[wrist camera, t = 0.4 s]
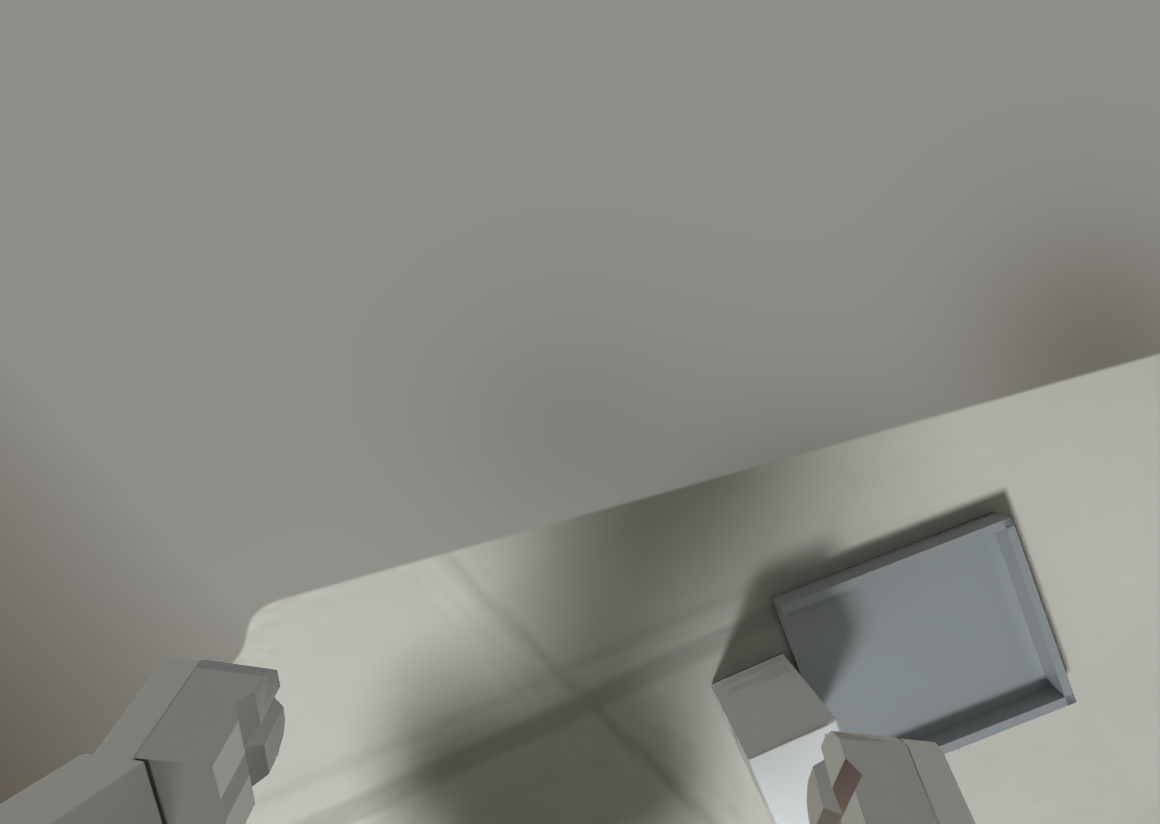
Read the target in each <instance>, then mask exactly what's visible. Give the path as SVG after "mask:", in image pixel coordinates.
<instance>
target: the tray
mask: <svg viewBox="0 0 1160 824" xmlns="http://www.w3.org/2000/svg"><path fill="white" fill-rule="evenodd" d="M772 600H773V603H774V606H775V608H776V611H777V614H778V617H779V619H780V622H781V625H782V627H783V630H784V633H785V635H786V638H787V641H788V644H789V646H790V649H791V652H792V654H793V657H794V660H795V662H796V665H797V668H798V670H799V673H800V675H801V676H802V677H803V679H804V680H805V681H806V682H807V684H808V685H809V686H810V687H811V688H812V690H813V691H814V692H815V693H816V695H817V696H818V697H819V698H820V699H821V701H822V702H823V703H824V704H825V706H826V707H827V708H828V709H829V710H830V712H831V713H832V714H833V715H834V717H835V718H836V719H837V721H838V724H839V726H840V729H841V731H842V732H848V733H858V734H869V735H879V736H889V737H896V738H898V739H909V740H919V741H928V742H935V743H936V744H937V745H938V746H939V747H940V748H941V749H942V751H943V753H944V754H945V753H948V752H951V751H953V750H956V749H958V748H961V747H963V746H966V745H968V744H971V743H973V742H976V741H979V740H981V739H984V738H986V737H989V736H991V735H994V734H996V733H999V732H1001V731H1004V730H1007V729H1009V728H1012V727H1014V726H1017V725H1019V724H1022V723H1024V722H1027V721H1029V720H1032V719H1035V718H1037V717H1040V716H1042V715H1045V714H1047V713H1050V712H1052V711H1055V710H1057V709H1060V708H1063V707H1065V706H1068V705H1070V704H1073V703H1075V702H1076V699H1075V697H1074V694H1073V691H1072V688H1071V685H1070V682H1069V679H1068V677H1067V674H1066V671H1065V668H1064V665H1063V662H1062V660H1061V657H1060V654H1059V651H1058V648H1057V645H1056V642H1055V640H1054V637H1053V634H1052V631H1051V628H1050V625H1049V622H1048V620H1047V617H1046V614H1045V611H1044V608H1043V605H1042V602H1041V600H1040V597H1039V594H1038V591H1037V588H1036V585H1035V583H1034V580H1033V577H1032V574H1031V571H1030V568H1029V565H1028V563H1027V560H1026V557H1025V554H1024V551H1023V548H1022V545H1021V543H1020V540H1019V537H1018V534H1017V531H1016V528H1015V525H1014V523H1013V520H1012V517H1010V516H1006V515H1003V514H999V513H996V512H992V513H990V514H987V515H984V516H982V517H979V518H977V519H974V520H971V521H969V522H966V523H964V524H961V525H959V526H956V527H953V528H951V529H948V530H946V531H943V532H941V533H938V534H935V535H933V536H930V537H928V538H925V539H922V540H920V541H917V542H915V543H912V544H910V545H907V546H904V547H902V548H899V549H897V550H894V551H891V552H889V553H886V554H884V555H881V556H879V557H876V558H873V559H871V560H868V561H866V562H863V563H861V564H858V565H855V566H853V567H850V568H848V569H845V570H842V571H840V572H837V573H835V574H832V575H830V576H827V577H824V578H822V579H819V580H817V581H814V582H812V583H809V584H806V585H804V586H801V587H799V588H796V589H793V590H791V591H788V592H786V593H783V594H781V595H778V596H775V597H773V598H772Z"/></svg>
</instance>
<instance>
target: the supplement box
mask: <svg viewBox="0 0 1160 824" xmlns="http://www.w3.org/2000/svg"><path fill="white" fill-rule="evenodd" d="M712 689H713V691H714V693H715V695H716V698H717V700H718V702H719V705H720V707H721V709H722V712H723V714H724V716H725V719H726V721H727V724H728V726H729V728H730V731H731V733H732V735H733V738H734V740H735V742H736V744H737V747H738V749H739V751H740V754H741V756H742V758H743V760H744V762H745V764H746V766H747V768H748V771H749V773H750V775H751V777H752V779H753V781H754V783H755V785H756V787H757V789H758V791H759V793H760V795H761V798H762V800H763V802H764V804H765V806H766V808H767V810H768V812H769V814H770V816H771V818H772V820H773V822H774V824H810V823H809V818H808V810H807V801H806V800H807V785H808V779H809V776H810V774H811V771H812V768H813V766H814V765H816V764H818V763H819V762H821V761H822V760H824V756H823V753H822V749H821V745H822V743H823V740H824V738H825V736H826V735H827V734H828V733H829V732H831V731H838V732H842V731H841V729H840V726H839V724H838V721H837V719H836V718H835V717H834V715H833V714H832V713H831V712H830V710H829V709H828V708H827V707H826V706H825V704H824V703H823V702H822V701H821V699H820V698H819V697H818V696H817V695H816V693H815V692H814V691H813V690H812V688H811V687H810V686H809V685H808V684H807V682H806V681H805V680H804V679H803V677H802V676H801V675H800V674H799V673H798V671H797V670H796V669H795V668H794V666H793V665H792V664H791V663H790V661H789V660H788V659H787V658H786V657H785V655H784V654H781V655H778V656H776V657H774V658H771V659H769V660H767V661H764V662H762V663H760V664H757V665H755V666H753V667H750V668H748V669H746V670H743V671H741V672H739V673H737V674H734V675H732V676H730V677H727V678H725V679H722V680H720V681H718V682H716V683H714V684H712Z"/></svg>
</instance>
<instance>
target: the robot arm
mask: <svg viewBox="0 0 1160 824" xmlns="http://www.w3.org/2000/svg"><path fill="white" fill-rule="evenodd" d="M279 687H280V683H279V678H278V673H277V670H273V669H266V668H259V667H252V666H245V665H238V664H231V663H224V662H217V661H209V660H202V659H193V658H184V657H177V656H170V657H169V658H168V659H166V660H165V661H164V662H162V663H161V664H160V665H159V666H158V667H157V669H156V670H155V671H154V673H153V674H152V675H151V677H150V678H149V679H148V681H147V682H146V683H145V685H144V686H143V688H142V689H141V690H140V692H139V693H138V694H137V696H136V697H135V698H134V700H133V701H132V702H131V704H130V705H129V707H128V708H127V709H126V711H125V712H124V713H123V715H122V716H121V717H120V719H119V720H118V722H117V723H116V724H115V725H114V727H113V728H112V730H111V731H110V732H109V734H108V735H107V736H106V738H105V739H104V741H103V742H102V743H101V744H100V746H99V747H98V749H97V750H96V751H95V753H94V754H93V755H87V754H82V755H80V756H78V757H77V758H75V759H73V760H72V761H70V762H68V763H67V764H65V765H63V766H62V767H60V768H59V769H57V770H55V771H54V772H52V773H50V774H49V775H47V776H45V777H44V778H42V779H41V780H39V781H37V782H36V783H34V784H32V785H31V786H30V787H28V788H26V789H24V790H23V791H21V792H19V793H18V794H16V795H15V796H13V797H11V798H10V799H8V800H7V801H5V802H3V803H1V804H0V824H245V823H246V821H247V819H248V817H249V815H250V813H251V810H252V808H253V806H254V804H255V802H254V796H253V791H252V786H253V785H255V784H256V783H257V782H259V781H260V780H261V779H263V778H264V777H265V776H267V775H268V774H269V773H270V771H271V768H272V766H273V764H274V762H275V760H276V757H277V755H278V752H279V748H280V745H281V741H282V737H283V734H284V722H285V716H284V708H283V706H282V705H281V704H280V703H279V702H278V701H277V700H276V699H275V698H274V697H275V695H276V693H277V691H278V689H279ZM821 749H822V753H823V756H824V760H822V761H821V762H819V763H818V764H816V765H814V766H813V768H812V771H811V774H810V776H809V779H808V785H807V800H806V801H807V810H808V818H809V823H810V824H975V821H974V819H973V817H972V815H971V813H970V810H969V808H968V806H967V804H966V802H965V799H964V797H963V795H962V793H961V791H960V788H959V786H958V784H957V782H956V780H955V777H954V775H953V773H952V771H951V769H950V766H949V764H948V762H947V760H946V758H945V755H944V753H943V751H942V749H941V748H940V747H939V746H938V745H937V744H936V743H935V742H928V741H919V740H909V739H898V738H896V737H889V736H879V735H869V734H858V733H848V732H838V731H831V732H829V733H828V734H827V735H826V736H825V738H824V740H823V743H822V745H821Z"/></svg>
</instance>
